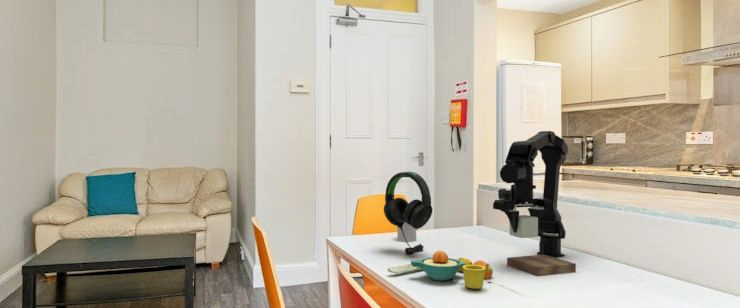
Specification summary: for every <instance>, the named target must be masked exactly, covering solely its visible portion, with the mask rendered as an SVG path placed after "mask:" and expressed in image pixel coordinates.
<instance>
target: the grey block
mask: <svg viewBox="0 0 740 308" xmlns="http://www.w3.org/2000/svg"><path fill="white" fill-rule="evenodd" d="M396 227H397V228H396V229H397V238H396V239H397V241H398V242H400V243H406V241H407V242H408V243H414V242H416V241H417V229H415V228H413V227H412V226H411V225H409V224H407V223H406V222H405V223H404V224H403V227H402V229H403V232H404V236H405V239H406V241H405V239H404V236H403V232H402V230H401V229H400V228H398V226H396Z"/></svg>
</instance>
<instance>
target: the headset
mask: <svg viewBox="0 0 740 308" xmlns="http://www.w3.org/2000/svg"><path fill="white" fill-rule="evenodd" d="M402 178H409V179H411V180H412V181H414V182H415V183H416V185H417V186H418V189H419V191H420V195H421V200H420V199H413V200H411V201H410V202H408V201H407V200H406V199H404V198H402V197H395V189H396V186H397V184H398V182H400V180H401V179H402ZM384 201H385V203H384V205H383V213H384V216H385V218H386V219H387V221H388V222H389V223H390V224H391V225H393V226H395V227H397V226H398V228H400V229H401V230H402V232H403V229H402V227H403V224H404V223H405V222H406V223H407V224H409V225H411V226H412V227H413V228H415V229H416V230H418V229H422V228H423V227H424V226H425V225H426V224H427V223H428V222H429V221H430V218H431V217H432V215H433V206H432V197H431V192H430V188H429V186H428V184H427V181H426V180H425V179H424V178H423V177H422V176H421V175H420V174H418V173H416V172H413V171H404V172H403V171H401V172H398V173H396V174H394V175H392V177H391V178H390V179H389V181H388V182H387V185H386V189H385V194H384ZM403 236H404V232H403ZM404 239H405V236H404ZM405 241H406V239H405ZM405 243H406V244H407V246H408V247H405V249H404V253H405V254H406V255H407V256H411V255H414V254H415V253H422V252H424V245H423V244H422V243H419V244H417V245H415V246H413V247H411V246H410V243H409V242H407V241H406V242H405Z"/></svg>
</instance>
